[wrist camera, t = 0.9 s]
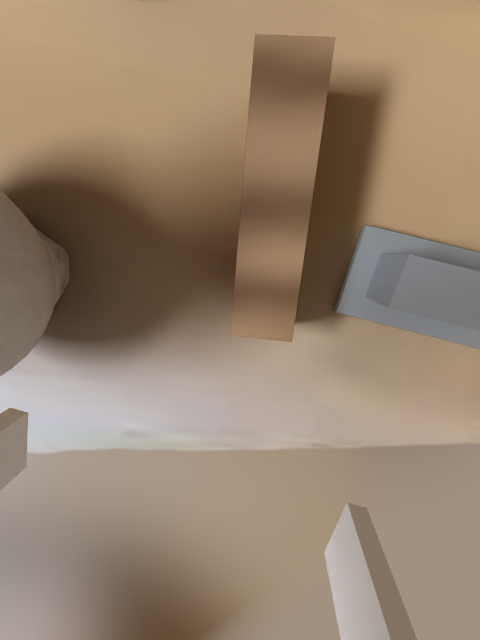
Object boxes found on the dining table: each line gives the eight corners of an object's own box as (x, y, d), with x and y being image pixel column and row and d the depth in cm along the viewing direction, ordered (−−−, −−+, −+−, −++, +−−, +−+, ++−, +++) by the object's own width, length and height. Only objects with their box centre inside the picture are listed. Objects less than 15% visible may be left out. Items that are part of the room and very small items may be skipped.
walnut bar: (257, 89, 23) (255, 34, 17) (317, 92, 23) (335, 37, 17) (237, 318, 28) (230, 335, 22) (286, 323, 28) (291, 342, 22)
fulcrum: (362, 226, 24) (392, 218, 19) (517, 263, 24) (597, 267, 18) (333, 310, 27) (352, 326, 21) (476, 346, 26) (536, 373, 20)
